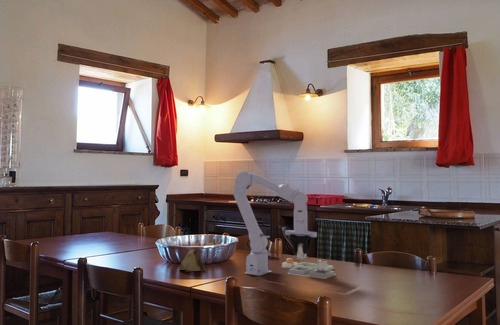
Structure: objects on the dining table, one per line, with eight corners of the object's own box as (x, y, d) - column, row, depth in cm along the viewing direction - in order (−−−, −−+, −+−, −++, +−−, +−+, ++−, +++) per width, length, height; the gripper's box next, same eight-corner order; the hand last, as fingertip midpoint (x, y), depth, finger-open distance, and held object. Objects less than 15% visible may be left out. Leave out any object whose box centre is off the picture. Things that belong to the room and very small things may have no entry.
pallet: (324, 280, 182) (324, 274, 182) (286, 275, 193) (286, 269, 193) (336, 276, 189) (336, 270, 190) (299, 271, 201) (299, 265, 201)
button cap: (290, 266, 205) (290, 259, 205) (285, 265, 207) (285, 258, 207) (293, 265, 207) (293, 258, 208) (288, 264, 209) (288, 257, 209)
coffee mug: (270, 254, 244) (270, 235, 245) (269, 257, 236) (269, 237, 236) (248, 254, 245) (248, 235, 246) (246, 257, 237) (246, 237, 237)
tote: (324, 274, 194) (323, 268, 194) (293, 269, 203) (293, 264, 204) (333, 270, 201) (333, 265, 201) (303, 266, 210) (303, 262, 210)
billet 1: (303, 260, 192) (303, 245, 192) (295, 259, 194) (295, 244, 195) (308, 258, 195) (308, 244, 196) (299, 258, 198) (299, 243, 198)
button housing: (291, 269, 204) (291, 264, 204) (281, 268, 207) (281, 262, 207) (297, 268, 208) (297, 262, 208) (288, 266, 211) (288, 261, 211)
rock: (172, 266, 202) (186, 265, 195) (180, 249, 207) (194, 248, 200) (188, 278, 208) (203, 278, 201) (196, 261, 212) (210, 260, 205)
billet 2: (324, 276, 185) (323, 261, 185) (315, 275, 188) (315, 260, 188) (328, 275, 188) (328, 259, 189) (320, 273, 191) (320, 258, 191)
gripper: (320, 221, 194) (320, 253, 193) (291, 219, 202) (291, 250, 202) (311, 222, 188) (312, 255, 188) (282, 220, 197) (282, 252, 196)
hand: (300, 253), depth 194 cm, fingers closed on billet 1, 4 cm apart
